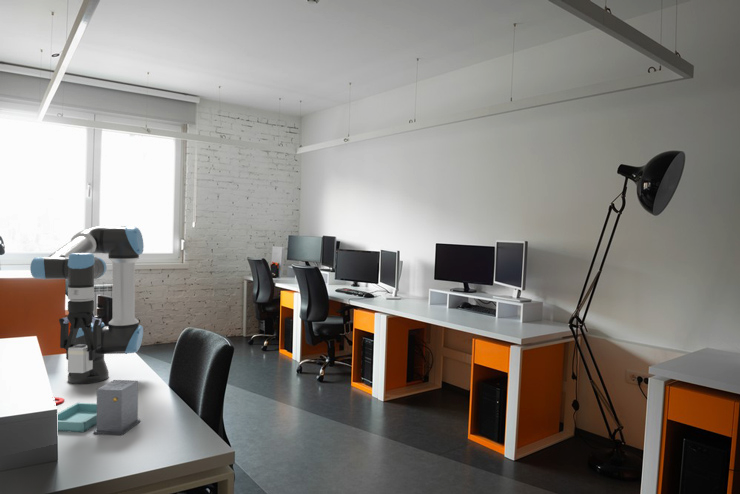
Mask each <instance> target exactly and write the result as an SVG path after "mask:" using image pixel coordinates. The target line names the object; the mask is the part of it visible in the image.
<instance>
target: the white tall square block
mask: <svg viewBox="0 0 740 494" xmlns="http://www.w3.org/2000/svg"><path fill="white" fill-rule="evenodd" d="M87 350H88V348H87V345H86V344H78V345H75V346H73V347H70V348H68V360H67V373H68V374H69V373H84V372H87V371H85V368H86V351H87Z"/></svg>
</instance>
